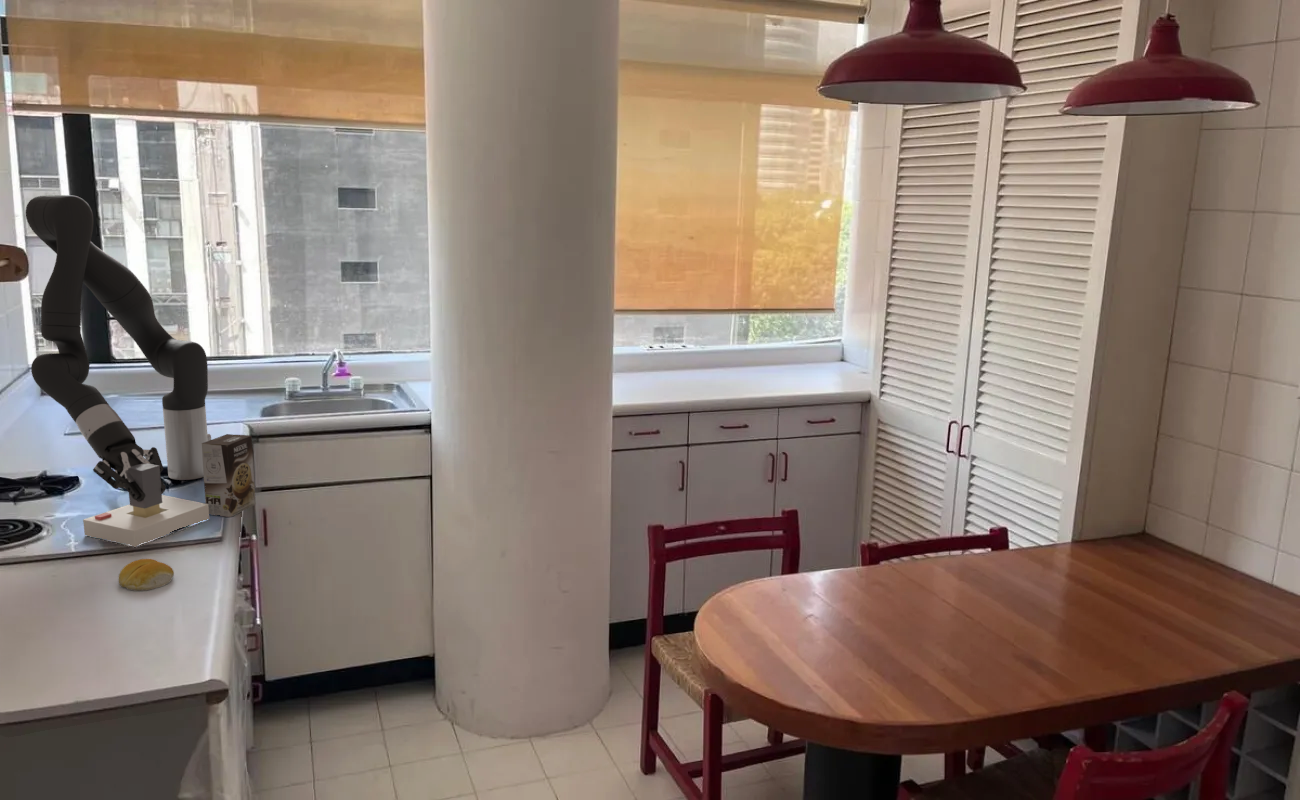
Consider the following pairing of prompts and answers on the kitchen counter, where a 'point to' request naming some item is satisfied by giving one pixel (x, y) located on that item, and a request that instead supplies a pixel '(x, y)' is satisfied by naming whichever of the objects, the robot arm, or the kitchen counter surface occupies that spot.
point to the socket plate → (145, 521)
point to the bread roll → (145, 575)
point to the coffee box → (228, 474)
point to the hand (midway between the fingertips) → (152, 495)
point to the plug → (147, 489)
